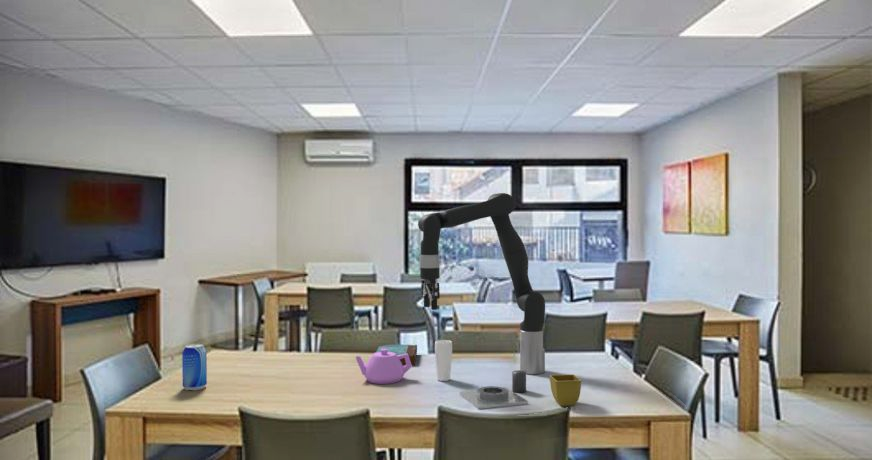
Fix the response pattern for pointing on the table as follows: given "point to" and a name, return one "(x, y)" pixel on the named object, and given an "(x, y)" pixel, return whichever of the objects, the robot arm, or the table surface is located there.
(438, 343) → the drinking glass
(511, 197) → the robot arm
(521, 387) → the cap
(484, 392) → the square base plate
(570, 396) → the flower pot
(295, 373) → the table surface
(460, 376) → the table surface
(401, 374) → the teapot
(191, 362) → the beer can
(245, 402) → the table surface
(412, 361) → the book
